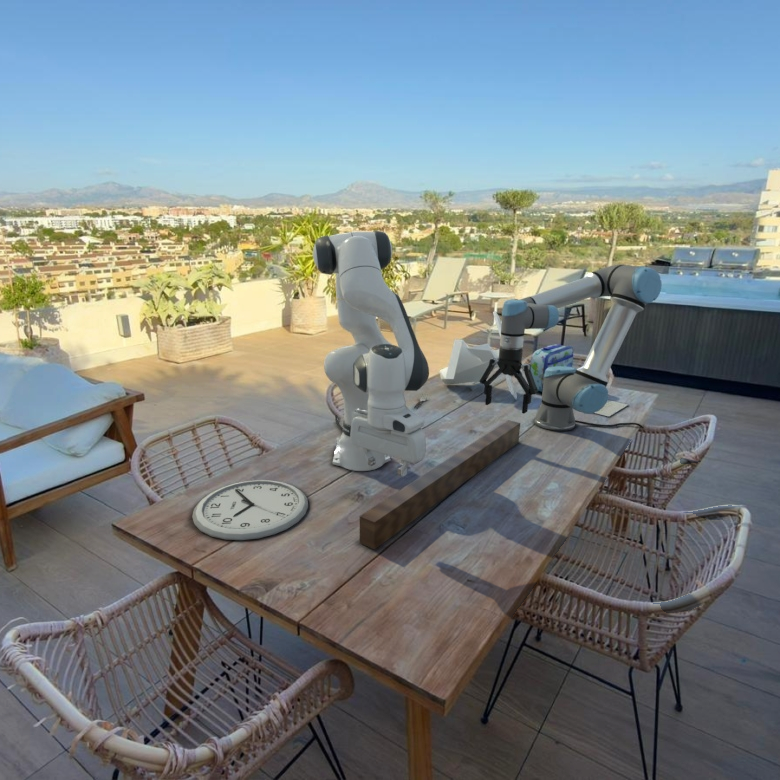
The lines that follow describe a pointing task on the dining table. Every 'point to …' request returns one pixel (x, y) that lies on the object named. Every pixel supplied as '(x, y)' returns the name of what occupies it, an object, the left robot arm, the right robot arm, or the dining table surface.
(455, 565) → the dining table surface
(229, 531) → the wall clock
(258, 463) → the dining table surface
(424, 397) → the fork
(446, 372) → the white plastic object
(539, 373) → the lunch box
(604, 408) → the invitation card
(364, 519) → the beam
